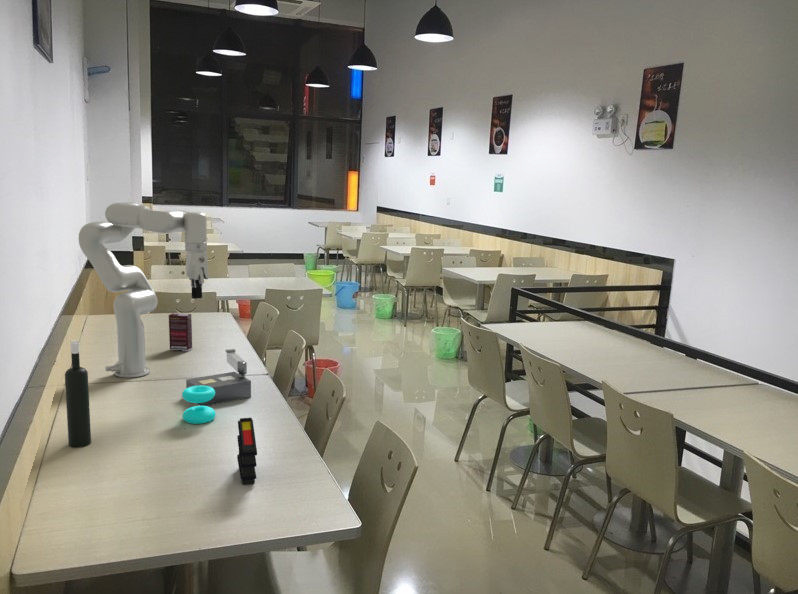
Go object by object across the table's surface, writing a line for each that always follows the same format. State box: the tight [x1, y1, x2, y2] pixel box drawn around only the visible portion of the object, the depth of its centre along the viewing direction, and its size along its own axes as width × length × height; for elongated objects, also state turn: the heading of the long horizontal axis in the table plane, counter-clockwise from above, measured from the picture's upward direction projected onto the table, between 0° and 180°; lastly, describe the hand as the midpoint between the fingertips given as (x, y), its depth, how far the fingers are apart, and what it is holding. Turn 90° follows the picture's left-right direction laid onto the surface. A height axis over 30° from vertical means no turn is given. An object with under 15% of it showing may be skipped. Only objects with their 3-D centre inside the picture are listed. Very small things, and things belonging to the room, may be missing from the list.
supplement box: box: [168, 312, 193, 352], centre depth 290 cm, size 9×5×16 cm, turn 84°
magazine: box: [236, 417, 258, 486], centre depth 171 cm, size 4×13×15 cm, turn 18°
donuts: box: [181, 385, 217, 425], centre depth 210 cm, size 10×10×10 cm
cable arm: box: [225, 348, 248, 375], centre depth 243 cm, size 18×3×5 cm, turn 29°
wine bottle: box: [64, 339, 92, 449], centre depth 186 cm, size 6×6×30 cm
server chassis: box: [185, 371, 252, 406], centre depth 232 cm, size 20×13×7 cm, turn 129°
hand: (196, 297), depth 240 cm, fingers closed
